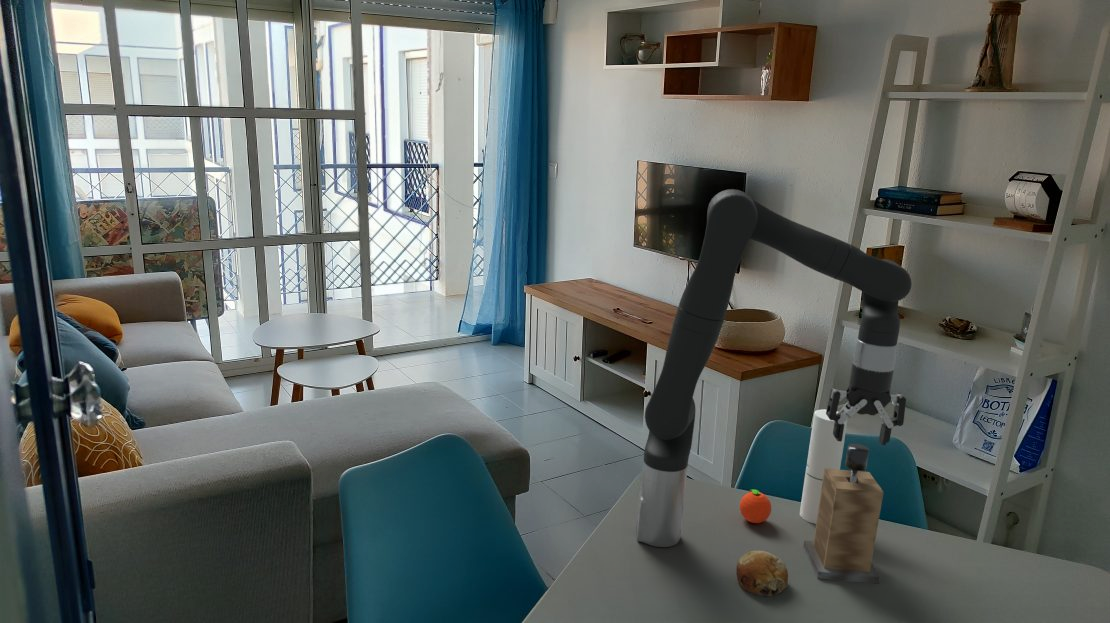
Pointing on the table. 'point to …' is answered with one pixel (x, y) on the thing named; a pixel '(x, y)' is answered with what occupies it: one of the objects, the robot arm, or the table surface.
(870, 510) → the box
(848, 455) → the plunger
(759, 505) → the clementine
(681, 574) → the table surface
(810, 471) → the cylindrical container
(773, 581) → the bread roll
